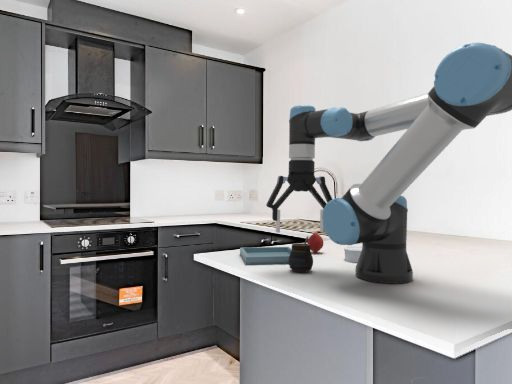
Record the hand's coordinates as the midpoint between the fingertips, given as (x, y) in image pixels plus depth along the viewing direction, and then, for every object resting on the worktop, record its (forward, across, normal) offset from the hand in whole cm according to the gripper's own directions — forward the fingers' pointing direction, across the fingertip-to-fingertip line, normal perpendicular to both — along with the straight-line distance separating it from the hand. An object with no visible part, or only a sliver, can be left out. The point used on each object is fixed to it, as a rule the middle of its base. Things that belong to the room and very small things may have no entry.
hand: (300, 231), depth 116 cm
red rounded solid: (+12, -13, -28) cm, 33 cm away
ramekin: (+12, -23, -13) cm, 29 cm away
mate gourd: (+12, 0, 0) cm, 12 cm away
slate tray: (+12, +6, -19) cm, 23 cm away
